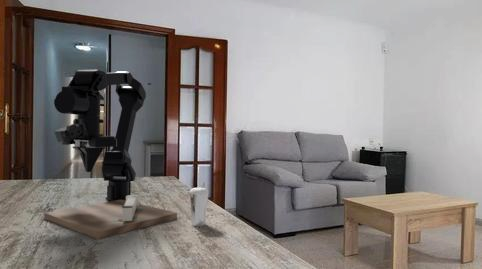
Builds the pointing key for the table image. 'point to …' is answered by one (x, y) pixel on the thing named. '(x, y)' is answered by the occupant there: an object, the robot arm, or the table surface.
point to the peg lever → (130, 207)
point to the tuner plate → (107, 218)
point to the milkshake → (198, 205)
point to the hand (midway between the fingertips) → (88, 171)
